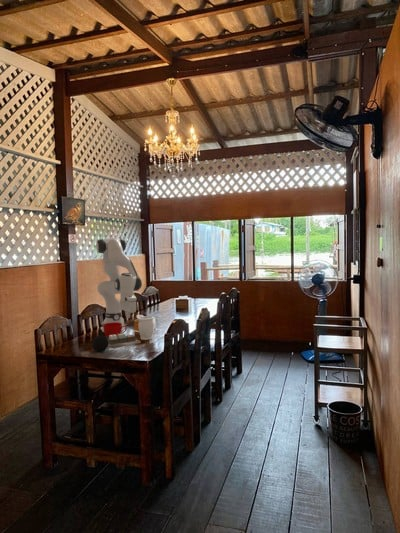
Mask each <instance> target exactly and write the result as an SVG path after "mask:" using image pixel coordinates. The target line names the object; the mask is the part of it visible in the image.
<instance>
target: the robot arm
mask: <svg viewBox="0 0 400 533" xmlns="http://www.w3.org/2000/svg"><path fill="white" fill-rule="evenodd" d="M95 247H96V250H97V253H99V254H102V262H103V263H102V265H103V273H104V274H105V275H106V276H108V277H109V280H105V281H102V282H99V283H98V284H97V288H96V289H97V292H98V294H99V295H100V296H102V298H103V299H104V302H105V309H106V311H105V312H106V313H105V318H104V320H103V322H101V327H100V330H101V331H102V333H104V329H103V325H104V324H106V323H114V322H117V323H122V326H125V320H124V318H123V314H122V313H123V312H122V311H124V313H125V319H126V318H127V319H130V318H131V314H134V313H136V311H137V297H136V295H135V291H136V292H138V291H140V290H141V288H142V285H143V283H142V279H141V277H140V276H139V274H138V272H137V270H136V268H135V265H134V263H133V261H132V259H130V257H128V256H127V255H126V254H125V252H124V251H125V250H126V248H127V243H126V240H125V238H122V237H119V238H117V237H110V238H104V239H103V238H101V239H98V240H97V241H96V244H95ZM119 267H122V268H125V269H126V271H128V272H122V273H120V269H119ZM116 295H120V299H117V297H116ZM124 331H125V327H122V330H121V332H124Z"/></svg>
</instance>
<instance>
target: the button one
mask: <svg viewBox="0 0 400 533" xmlns="http://www.w3.org/2000/svg"><path fill="white" fill-rule="evenodd" d="M109 339H110V340H115V339H117V335H109Z"/></svg>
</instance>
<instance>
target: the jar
mask: <svg viewBox="0 0 400 533" xmlns="http://www.w3.org/2000/svg"><path fill="white" fill-rule="evenodd" d="M137 319H138V324H137V325H138V334H139V336H140V338H139V340H140V341H149V340H152V339H153V335H154V327H155V326H154V325H155V324H154V316H149V315H148V316H147V315H146V316H140V317H137Z"/></svg>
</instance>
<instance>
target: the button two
mask: <svg viewBox="0 0 400 533" xmlns="http://www.w3.org/2000/svg"><path fill="white" fill-rule="evenodd" d="M121 333H122V332H121ZM126 335H127V334H126V333H125V332H124V333H122V334H118V338H119V339H121V338H126Z"/></svg>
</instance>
